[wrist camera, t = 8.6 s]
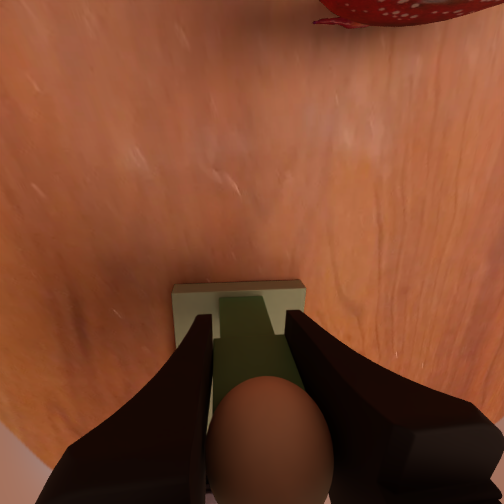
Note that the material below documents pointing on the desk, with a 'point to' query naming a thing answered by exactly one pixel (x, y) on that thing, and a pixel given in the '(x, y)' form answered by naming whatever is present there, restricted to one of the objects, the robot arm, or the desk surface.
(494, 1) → the decorative bird figurine
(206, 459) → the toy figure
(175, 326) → the toy stand
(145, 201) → the desk surface
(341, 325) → the desk surface
